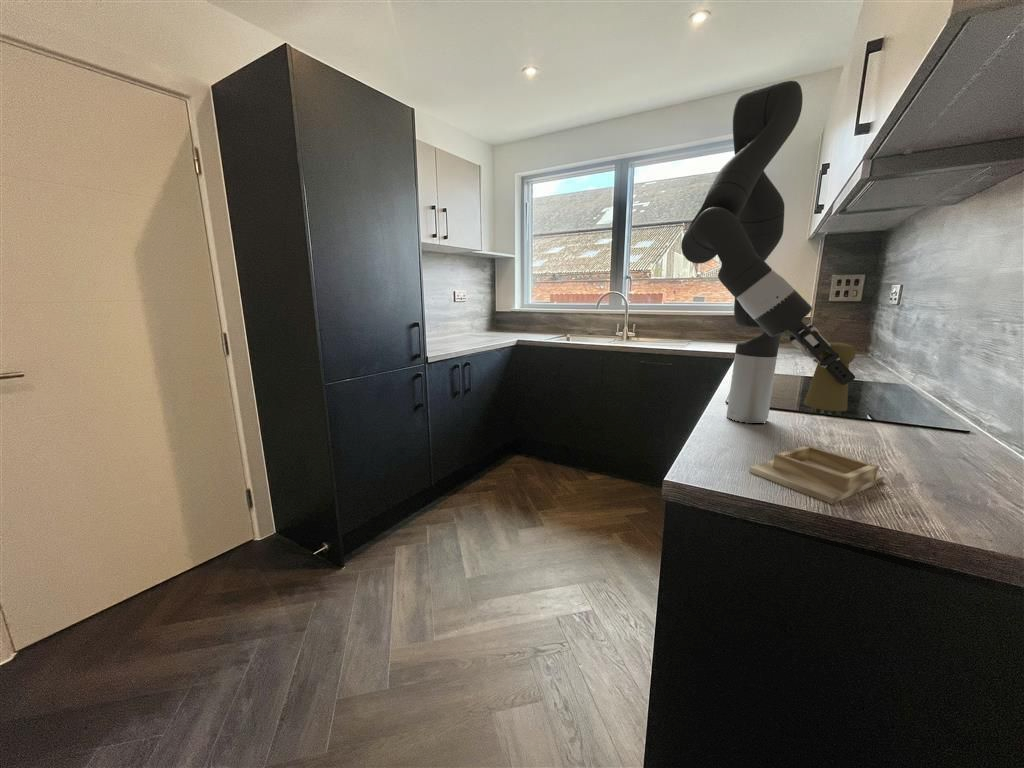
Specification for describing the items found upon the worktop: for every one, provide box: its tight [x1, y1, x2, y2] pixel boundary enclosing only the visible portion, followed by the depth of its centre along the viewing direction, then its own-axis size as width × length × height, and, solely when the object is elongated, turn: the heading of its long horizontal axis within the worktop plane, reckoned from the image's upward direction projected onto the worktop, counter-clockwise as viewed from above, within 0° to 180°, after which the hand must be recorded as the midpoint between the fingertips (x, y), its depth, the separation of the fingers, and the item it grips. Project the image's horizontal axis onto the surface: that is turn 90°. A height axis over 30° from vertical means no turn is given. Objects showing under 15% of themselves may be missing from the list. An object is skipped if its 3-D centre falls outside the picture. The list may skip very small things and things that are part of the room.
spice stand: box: [748, 444, 885, 505], centre depth 72 cm, size 18×13×4 cm
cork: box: [803, 341, 857, 412], centre depth 68 cm, size 6×6×11 cm
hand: (844, 378), depth 67 cm, fingers closed on cork, 5 cm apart
